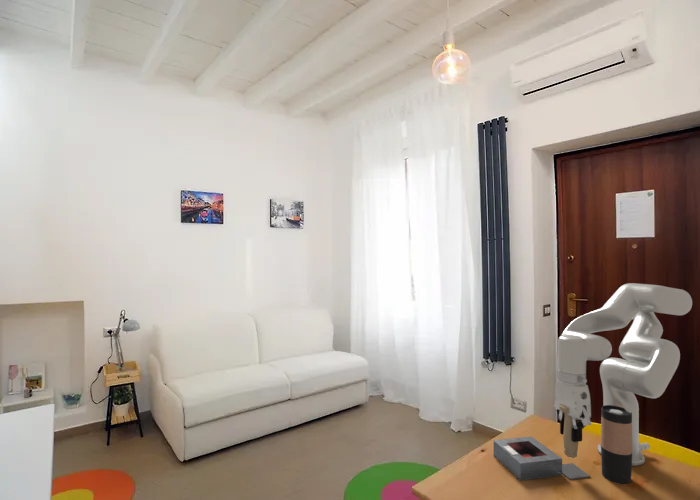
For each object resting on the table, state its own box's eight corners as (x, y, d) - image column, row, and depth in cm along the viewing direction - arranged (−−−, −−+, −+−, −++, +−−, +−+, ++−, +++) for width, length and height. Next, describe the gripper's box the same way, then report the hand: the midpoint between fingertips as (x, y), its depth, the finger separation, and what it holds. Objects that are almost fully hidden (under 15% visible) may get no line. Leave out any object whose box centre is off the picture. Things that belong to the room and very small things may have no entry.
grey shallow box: (531, 451, 129) (531, 435, 129) (562, 475, 115) (562, 457, 115) (493, 455, 126) (493, 439, 126) (520, 480, 113) (520, 462, 113)
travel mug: (598, 477, 114) (598, 410, 114) (603, 467, 120) (603, 402, 120) (630, 488, 109) (630, 418, 109) (633, 477, 115) (634, 409, 115)
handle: (586, 460, 115) (586, 409, 115) (564, 459, 115) (564, 409, 115) (576, 451, 120) (576, 403, 120) (555, 451, 120) (556, 403, 120)
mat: (572, 464, 121) (572, 463, 121) (590, 477, 114) (590, 475, 114) (552, 466, 120) (552, 465, 120) (569, 479, 113) (569, 478, 113)
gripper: (605, 385, 110) (604, 450, 110) (562, 368, 126) (561, 424, 126) (582, 387, 108) (581, 452, 108) (541, 369, 125) (541, 426, 125)
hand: (570, 436), depth 117 cm, fingers closed on handle, 3 cm apart
